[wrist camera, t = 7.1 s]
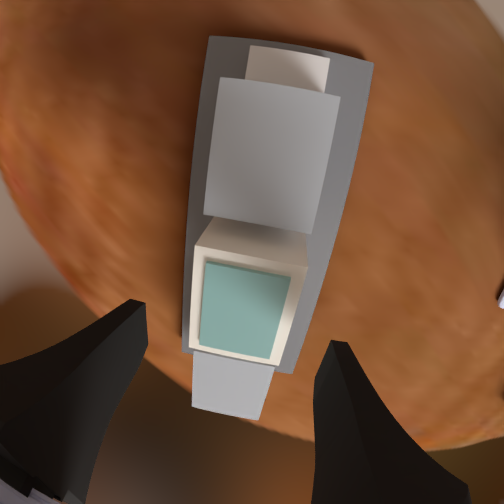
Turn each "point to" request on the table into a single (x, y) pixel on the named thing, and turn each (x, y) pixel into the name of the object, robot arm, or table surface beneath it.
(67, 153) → the table surface
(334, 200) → the board
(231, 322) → the cream module
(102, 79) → the table surface
